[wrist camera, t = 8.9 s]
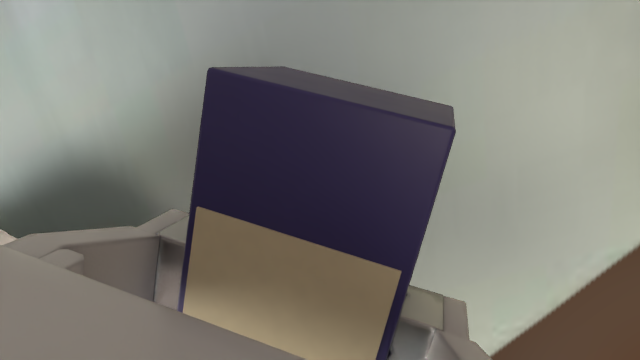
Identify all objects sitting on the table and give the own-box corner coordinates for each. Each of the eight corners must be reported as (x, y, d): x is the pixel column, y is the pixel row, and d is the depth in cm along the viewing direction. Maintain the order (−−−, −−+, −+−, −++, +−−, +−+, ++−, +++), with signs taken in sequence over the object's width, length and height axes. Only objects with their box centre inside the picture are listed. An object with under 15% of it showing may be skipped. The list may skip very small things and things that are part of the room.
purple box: (281, 66, 12) (204, 66, 8) (454, 106, 11) (456, 128, 7) (230, 355, 15) (156, 455, 11) (364, 407, 14) (332, 535, 10)
